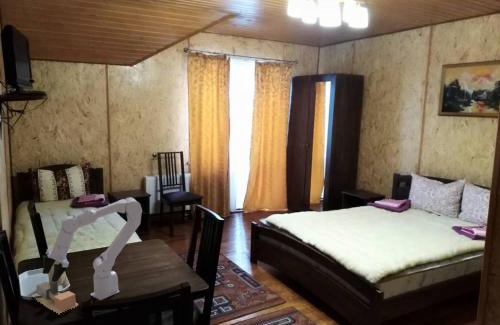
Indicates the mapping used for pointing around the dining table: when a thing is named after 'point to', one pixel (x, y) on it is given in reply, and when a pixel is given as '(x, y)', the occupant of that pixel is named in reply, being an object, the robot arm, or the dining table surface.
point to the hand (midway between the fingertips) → (49, 277)
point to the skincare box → (53, 272)
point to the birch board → (51, 304)
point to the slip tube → (53, 290)
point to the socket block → (64, 300)
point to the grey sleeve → (43, 289)
